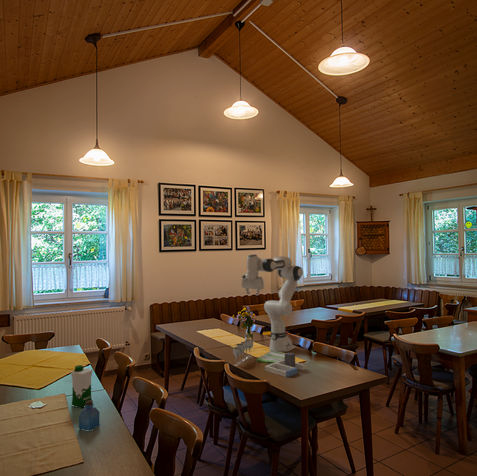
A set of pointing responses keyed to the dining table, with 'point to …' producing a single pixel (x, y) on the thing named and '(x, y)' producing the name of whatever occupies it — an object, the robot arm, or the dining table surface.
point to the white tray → (283, 368)
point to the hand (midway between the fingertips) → (252, 294)
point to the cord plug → (290, 359)
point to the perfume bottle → (89, 417)
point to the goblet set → (242, 350)
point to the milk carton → (81, 386)
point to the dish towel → (271, 357)
